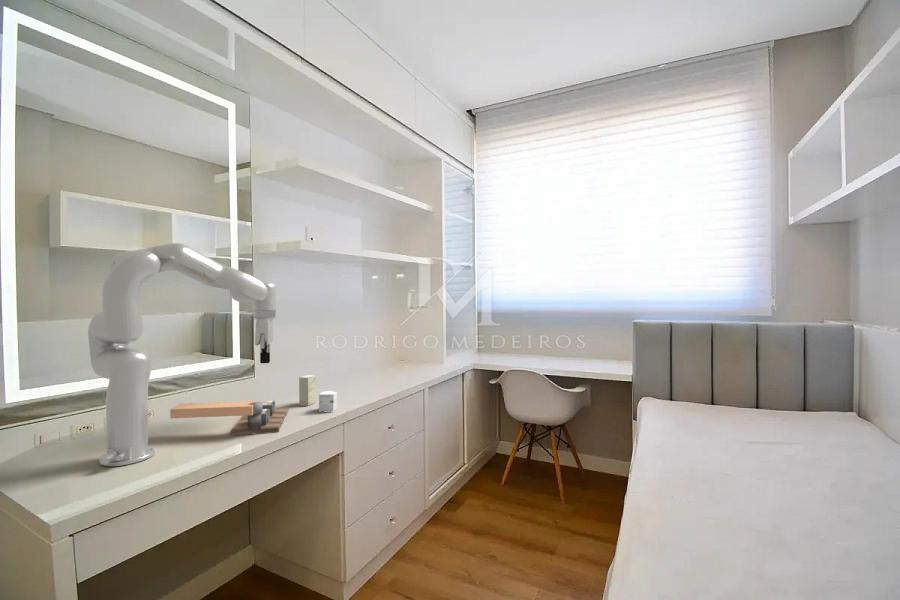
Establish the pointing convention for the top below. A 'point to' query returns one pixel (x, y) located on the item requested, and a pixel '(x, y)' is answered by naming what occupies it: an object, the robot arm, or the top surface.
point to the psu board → (268, 428)
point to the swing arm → (216, 409)
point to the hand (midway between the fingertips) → (265, 362)
